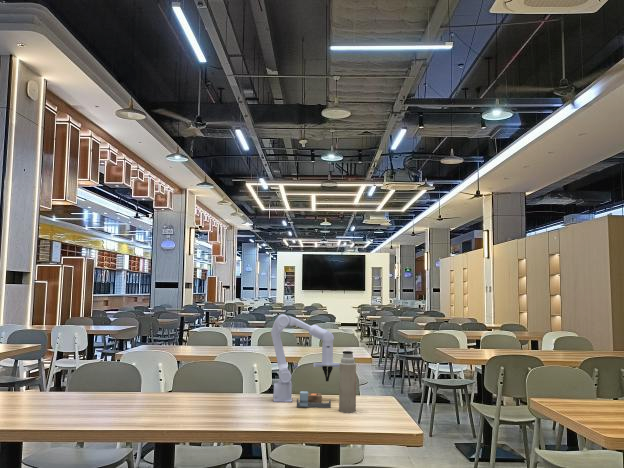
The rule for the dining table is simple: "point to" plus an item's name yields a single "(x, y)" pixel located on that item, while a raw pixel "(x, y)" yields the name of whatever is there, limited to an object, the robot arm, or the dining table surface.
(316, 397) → the square wooden frame
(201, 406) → the dining table surface
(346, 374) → the thermos bottle
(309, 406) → the rail
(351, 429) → the dining table surface
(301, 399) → the block
